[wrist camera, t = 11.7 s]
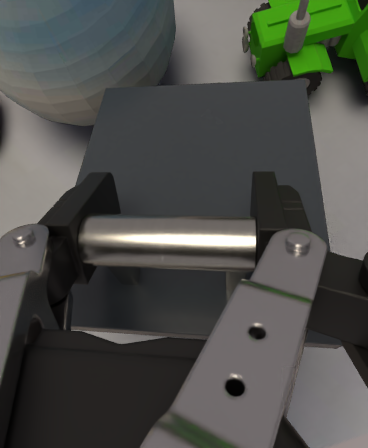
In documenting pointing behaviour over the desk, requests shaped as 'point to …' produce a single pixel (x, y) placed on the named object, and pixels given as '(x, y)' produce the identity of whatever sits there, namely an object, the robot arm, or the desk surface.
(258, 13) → the toy tractor
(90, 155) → the lid
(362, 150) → the desk surface
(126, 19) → the decorative ball
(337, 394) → the desk surface
